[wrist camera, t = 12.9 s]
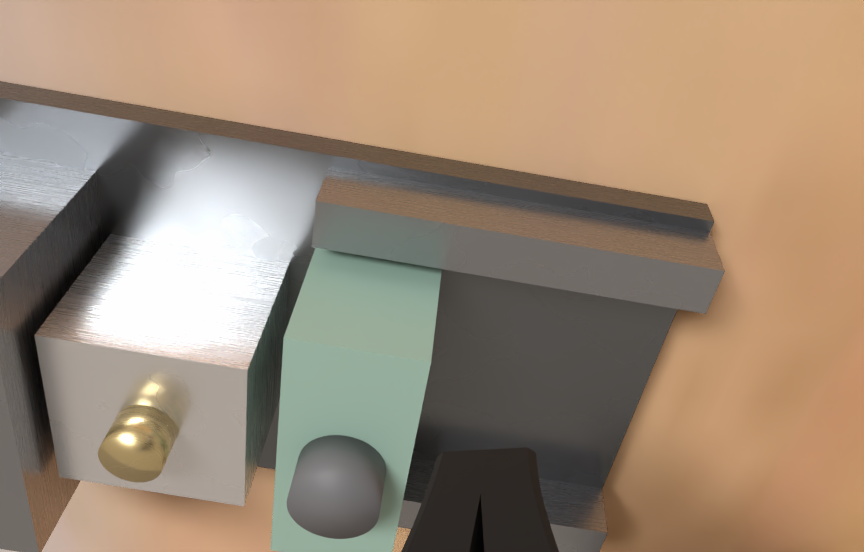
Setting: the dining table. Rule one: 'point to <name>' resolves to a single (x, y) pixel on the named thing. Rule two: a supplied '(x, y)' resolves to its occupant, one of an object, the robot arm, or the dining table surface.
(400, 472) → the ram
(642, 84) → the dining table surface
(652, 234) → the press
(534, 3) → the dining table surface
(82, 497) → the dining table surface
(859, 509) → the dining table surface
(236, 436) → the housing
